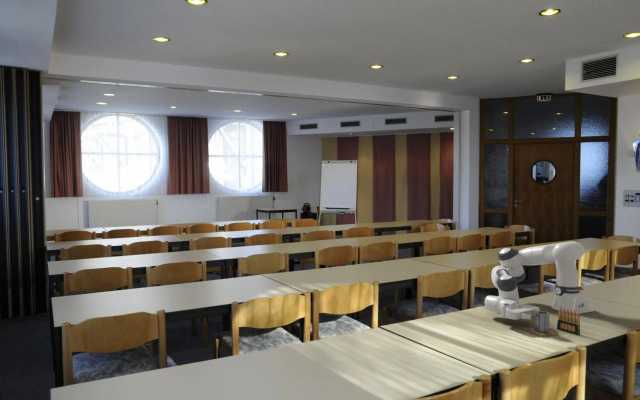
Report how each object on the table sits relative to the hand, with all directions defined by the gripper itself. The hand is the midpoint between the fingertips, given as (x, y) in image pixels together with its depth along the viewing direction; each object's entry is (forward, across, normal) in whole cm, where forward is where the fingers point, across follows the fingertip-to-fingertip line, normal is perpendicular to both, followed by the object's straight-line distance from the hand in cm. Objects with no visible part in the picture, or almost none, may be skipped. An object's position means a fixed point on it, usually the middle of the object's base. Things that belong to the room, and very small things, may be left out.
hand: (536, 316), depth 244 cm
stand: (+3, 0, -8) cm, 8 cm away
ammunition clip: (+8, -13, -8) cm, 18 cm away
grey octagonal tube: (+3, 0, -7) cm, 7 cm away
